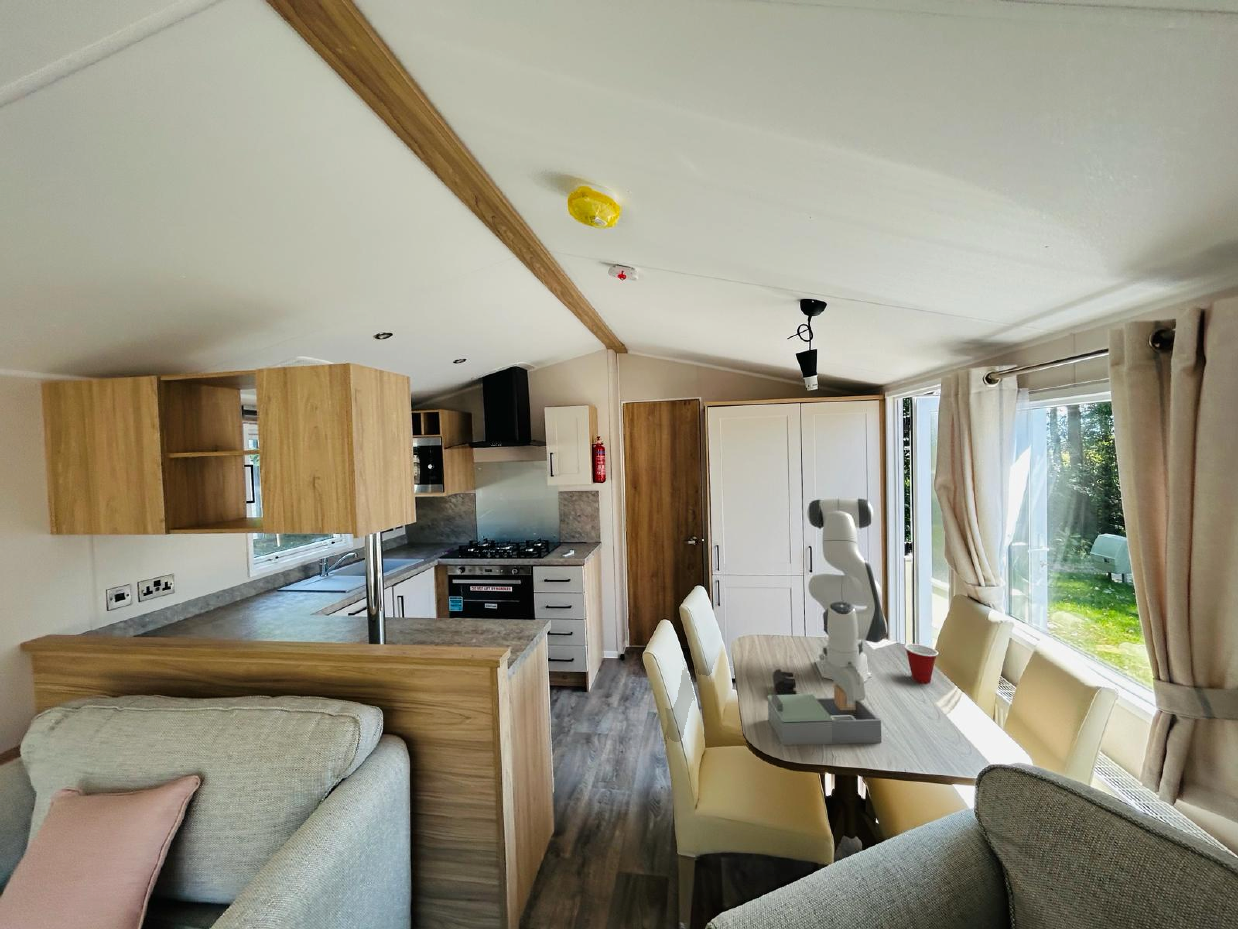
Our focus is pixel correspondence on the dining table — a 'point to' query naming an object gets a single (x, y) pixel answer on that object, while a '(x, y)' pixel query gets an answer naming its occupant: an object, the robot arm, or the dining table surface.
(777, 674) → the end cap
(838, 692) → the jaw block
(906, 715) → the dining table surface
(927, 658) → the plastic cup
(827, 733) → the box
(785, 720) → the lid
